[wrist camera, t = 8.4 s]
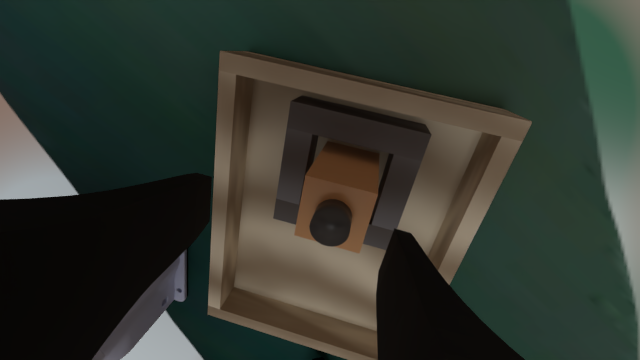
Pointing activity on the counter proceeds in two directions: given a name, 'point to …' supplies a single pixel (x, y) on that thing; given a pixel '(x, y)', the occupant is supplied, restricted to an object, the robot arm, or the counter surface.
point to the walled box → (288, 179)
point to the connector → (339, 197)
